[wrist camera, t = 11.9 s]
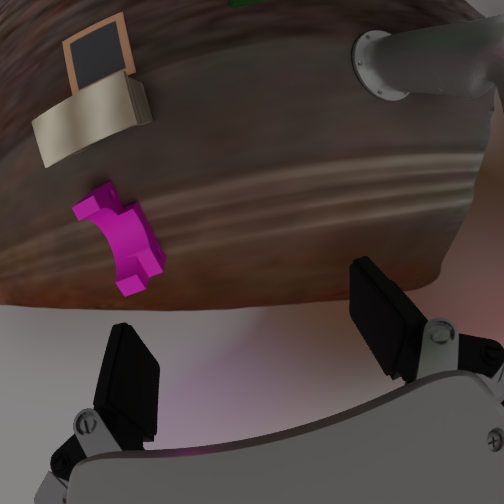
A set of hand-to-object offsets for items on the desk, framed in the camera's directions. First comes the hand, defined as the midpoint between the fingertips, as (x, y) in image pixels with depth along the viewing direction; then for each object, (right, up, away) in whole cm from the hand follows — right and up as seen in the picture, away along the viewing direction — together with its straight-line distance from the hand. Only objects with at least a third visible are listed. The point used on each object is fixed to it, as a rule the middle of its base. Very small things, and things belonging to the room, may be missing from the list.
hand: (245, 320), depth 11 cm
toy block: (-19, +7, +28) cm, 35 cm away
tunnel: (-19, +21, +20) cm, 35 cm away
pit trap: (-21, +30, +14) cm, 40 cm away
